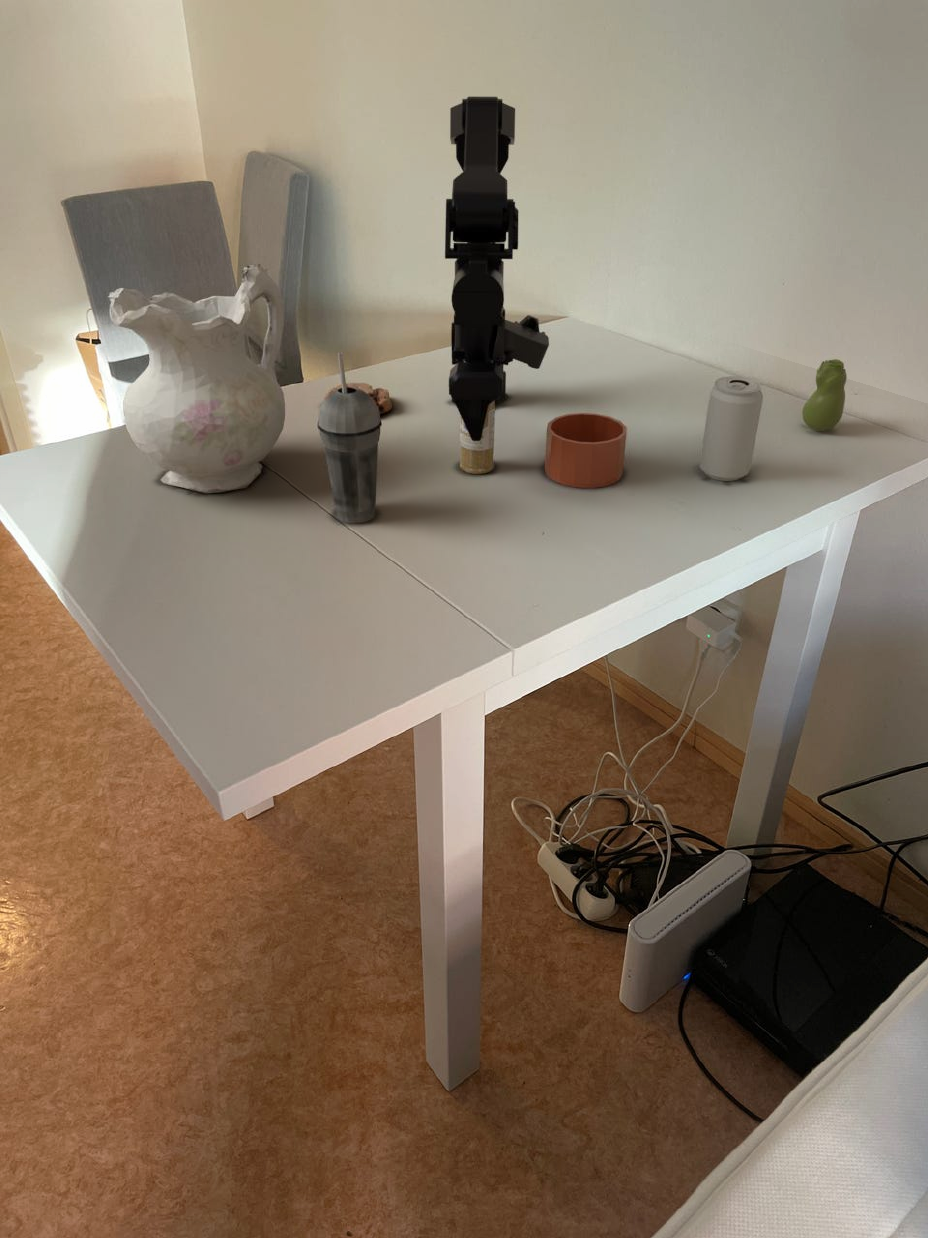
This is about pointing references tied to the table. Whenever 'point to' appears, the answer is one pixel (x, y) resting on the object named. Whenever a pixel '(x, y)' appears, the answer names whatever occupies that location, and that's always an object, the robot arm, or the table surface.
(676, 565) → the table surface
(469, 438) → the sprinkles bottle
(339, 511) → the beverage cup
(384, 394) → the cookie
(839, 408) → the pear
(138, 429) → the ceramic pitcher
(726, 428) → the beverage can
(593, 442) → the bowl
